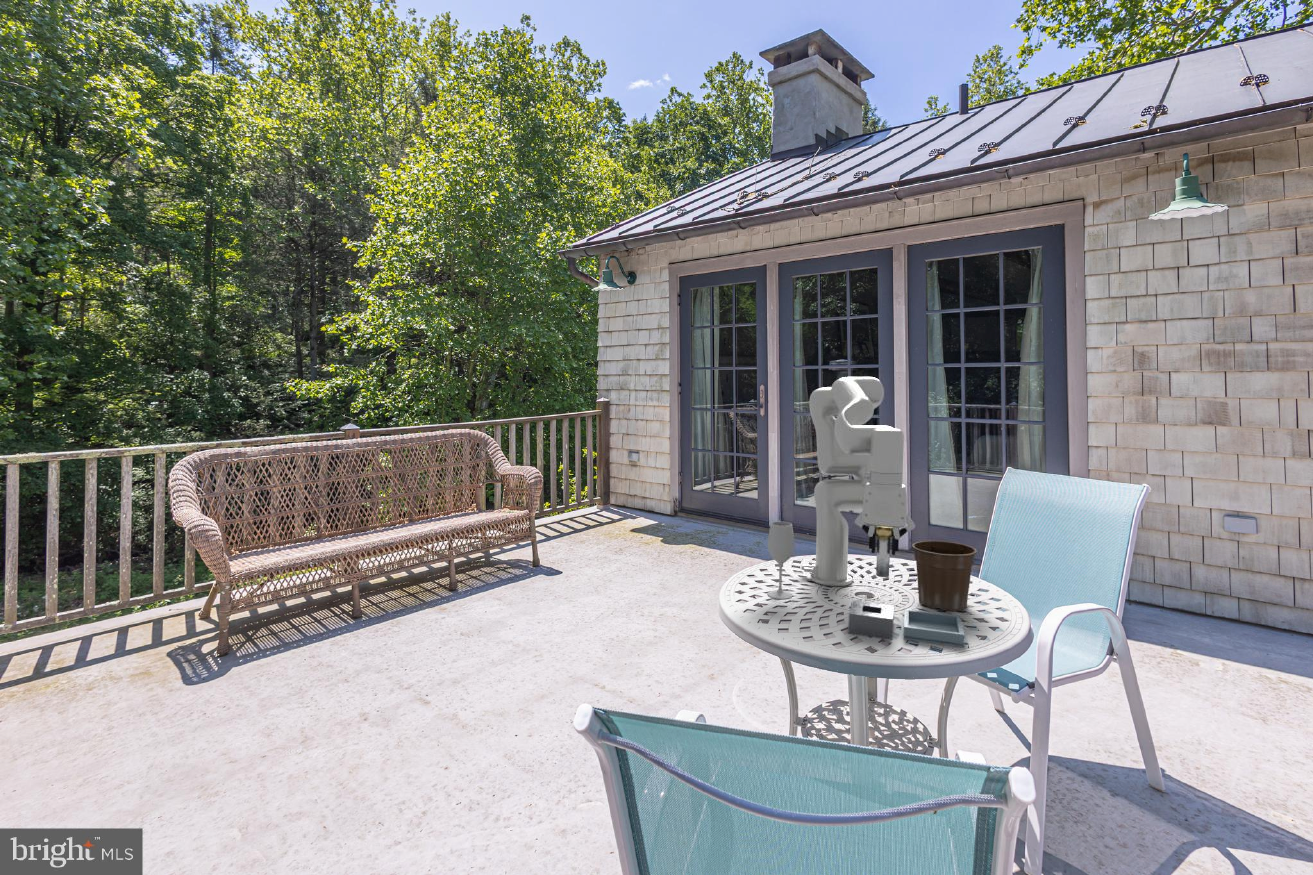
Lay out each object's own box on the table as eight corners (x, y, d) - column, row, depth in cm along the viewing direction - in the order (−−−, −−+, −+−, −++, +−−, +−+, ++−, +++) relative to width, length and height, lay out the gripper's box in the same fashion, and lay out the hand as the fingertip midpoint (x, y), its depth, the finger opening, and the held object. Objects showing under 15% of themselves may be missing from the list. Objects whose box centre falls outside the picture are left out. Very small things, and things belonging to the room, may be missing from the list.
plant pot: (897, 598, 178) (899, 542, 177) (940, 591, 184) (942, 537, 183) (942, 617, 163) (945, 557, 162) (987, 609, 169) (990, 551, 168)
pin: (872, 576, 153) (873, 528, 152) (873, 571, 157) (875, 524, 156) (891, 578, 151) (893, 530, 150) (892, 574, 155) (894, 526, 154)
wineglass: (778, 601, 176) (779, 527, 174) (761, 593, 183) (762, 522, 181) (799, 596, 179) (800, 524, 178) (782, 589, 186) (783, 519, 184)
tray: (903, 638, 149) (903, 626, 149) (904, 620, 161) (904, 609, 161) (963, 647, 144) (964, 635, 144) (959, 627, 156) (960, 616, 156)
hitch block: (848, 633, 153) (849, 613, 152) (852, 619, 162) (852, 600, 162) (892, 639, 149) (892, 619, 149) (893, 625, 158) (893, 605, 158)
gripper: (848, 479, 152) (846, 552, 153) (923, 483, 145) (920, 560, 147) (851, 475, 159) (849, 545, 160) (923, 479, 152) (920, 552, 154)
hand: (883, 552), depth 154 cm, fingers closed on pin, 4 cm apart
